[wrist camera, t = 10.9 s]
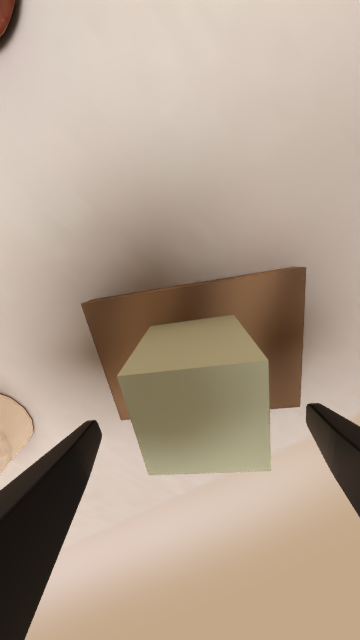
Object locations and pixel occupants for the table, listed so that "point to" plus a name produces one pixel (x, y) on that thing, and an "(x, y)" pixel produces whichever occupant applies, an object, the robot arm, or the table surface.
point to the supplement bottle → (5, 13)
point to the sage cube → (199, 398)
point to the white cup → (12, 430)
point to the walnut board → (207, 302)
